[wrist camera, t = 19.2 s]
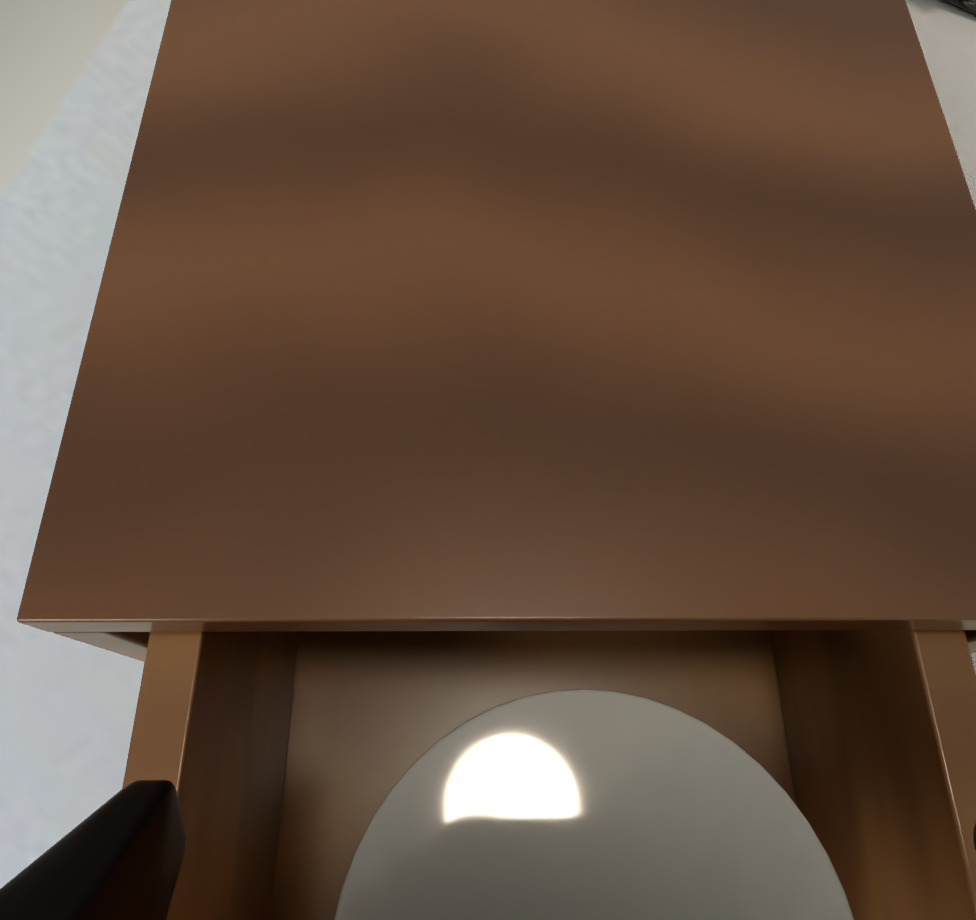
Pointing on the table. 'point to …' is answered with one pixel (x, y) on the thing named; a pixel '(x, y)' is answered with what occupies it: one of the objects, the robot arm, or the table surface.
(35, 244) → the table surface
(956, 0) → the book
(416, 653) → the drawer
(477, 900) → the amber jar
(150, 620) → the cabinet
